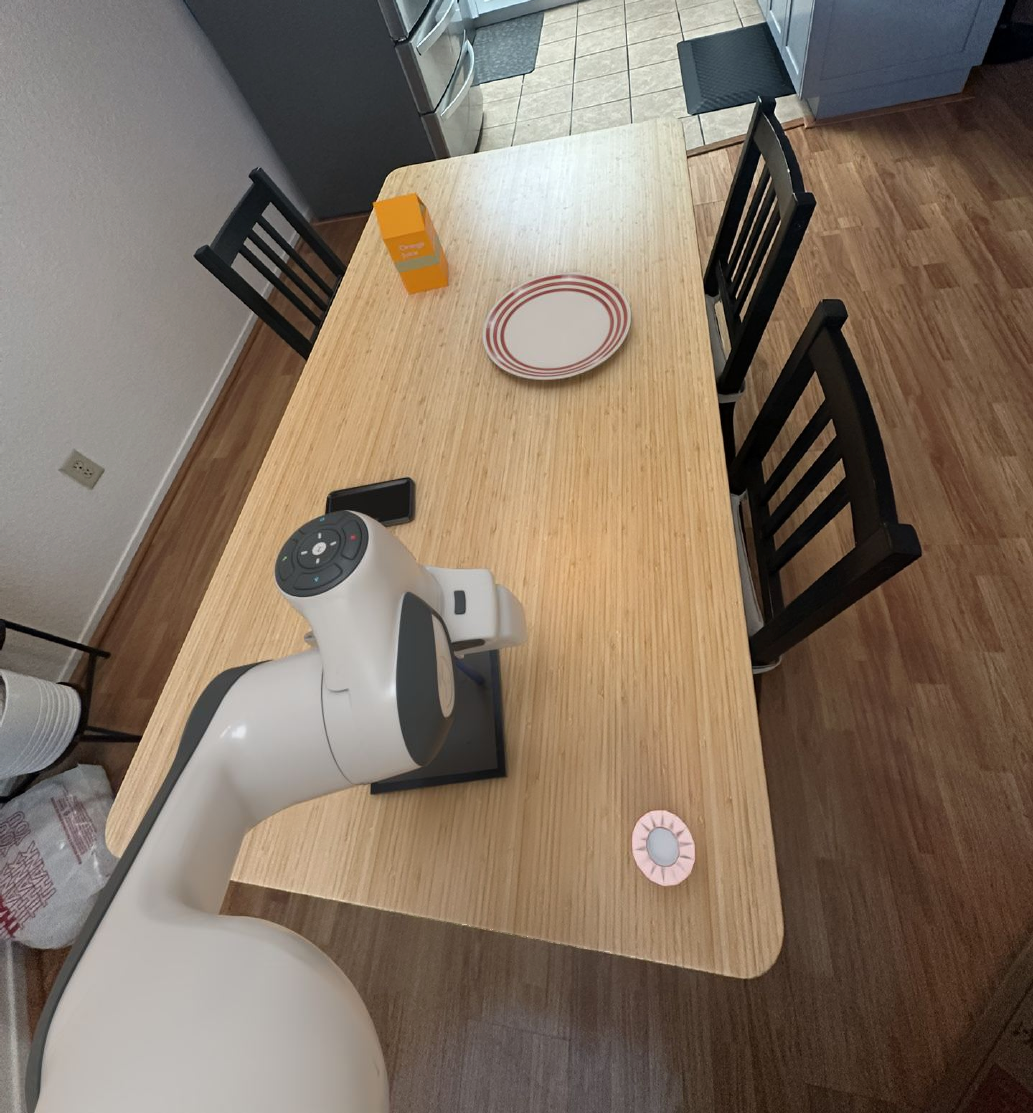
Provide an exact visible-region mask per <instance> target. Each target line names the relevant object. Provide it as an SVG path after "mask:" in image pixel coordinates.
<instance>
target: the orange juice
mask: <svg viewBox="0 0 1033 1113" xmlns="http://www.w3.org/2000/svg"><path fill="white" fill-rule="evenodd" d="M372 205H373V209H374V213H375V216H376V220H377V224H378V227H379V232H380V234H381V238H382V239H381V240H382V241H383V243H384V245H385V247H386V249H387V252H388V253H389V256H390V258H391V259H392V262H393V265H394V266H395V268H396V271H397V273H398V274H399V276H400V278H401V280H402V283H403V285H404V287H405V289H406V290H407V293H408V295H413V294H417V293H422V292H426V291H431V290H432V291H433V290H436V289H441V288H445V287H448V286H449V263H448V260H447V257H446V254H445V251H444V248H443V246H442V243H441V240H440V238H439V235H438V233H437V229H436V228H435V226H434V223H433V219H432V217H431V214H430V212H429V210H428V206H427V205H425V204H424V201H423V200H422V199H421V198H420V196H418V193H417V192H411V193H408V194H403V195H399V196H395V197H390V198H386V199H382V200H377V201H373V202H372Z"/></svg>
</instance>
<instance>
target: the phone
mask: <svg viewBox="0 0 1033 1113" xmlns="http://www.w3.org/2000/svg"><path fill="white" fill-rule="evenodd" d="M341 510H348V511H355V512H359V513H362V514H365V515H367V516H369V517H371V518H373V519H374V520H376V521H378V522H379V523H381V524H382V525H383V526H384V527H386V528H387V527H392V526H396V525H402V524H407V523H411V522H412V521H413V520H414V518H415V515H416V483H415V481H414V479H413V478H412V477H409V476H405V477H399V478H394V479H389V480H384V481H379V482H374V483H368V484H364V485H358V486H352V487H346V488H342V489H337V490H333V491H330V492H329V493H328V494H327V496H326V500H325V509H324V515H325V514H328V513H332V512H336V511H341Z"/></svg>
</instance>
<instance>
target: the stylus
mask: <svg viewBox="0 0 1033 1113" xmlns="http://www.w3.org/2000/svg"><path fill="white" fill-rule="evenodd" d="M455 660H456V666H457V668H458V669H460V670H461V671H462V672H463V673H465V674H466V675H467V676H468V677H470V678H471V679H472V680H473V681H475V682H476V683H477V684H480V683H482V682H483V677H482V675H480V674H479V673H478V672H477V671H476V670H475V669H474V668H472V667H471V666H470V665H469V664H468V663H467V662H465V661H464V660H463V659H455Z"/></svg>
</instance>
